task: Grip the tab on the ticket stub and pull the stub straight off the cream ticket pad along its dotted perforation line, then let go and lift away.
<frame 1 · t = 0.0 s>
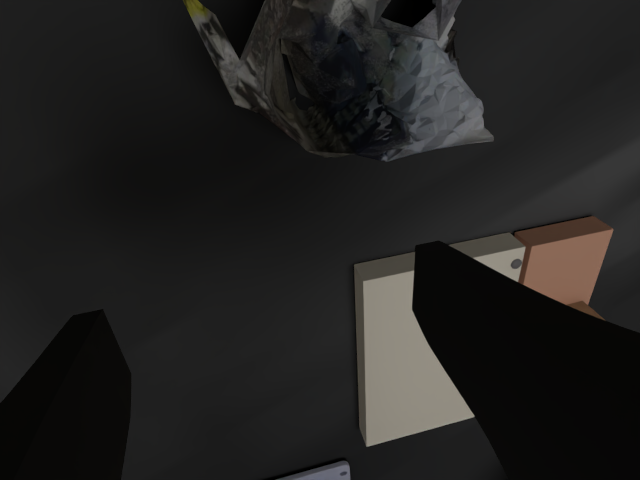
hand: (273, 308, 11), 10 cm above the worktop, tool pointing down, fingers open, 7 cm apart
stub: (563, 349, 27), point 3 cm above the worktop, slide at 0.0 cm
ticket pad: (426, 340, 28), on the worktop
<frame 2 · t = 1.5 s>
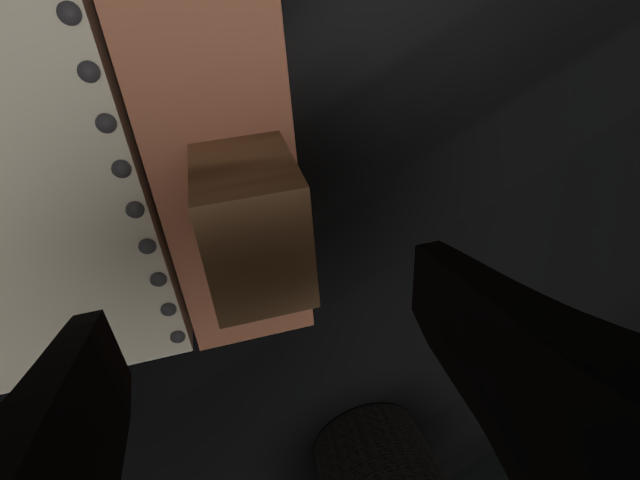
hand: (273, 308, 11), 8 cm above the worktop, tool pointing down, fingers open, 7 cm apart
stub: (233, 214, 15), point 3 cm above the worktop, slide at 0.0 cm
ticket pad: (18, 210, 16), on the worktop
coffee cup: (363, 435, 29), on the worktop
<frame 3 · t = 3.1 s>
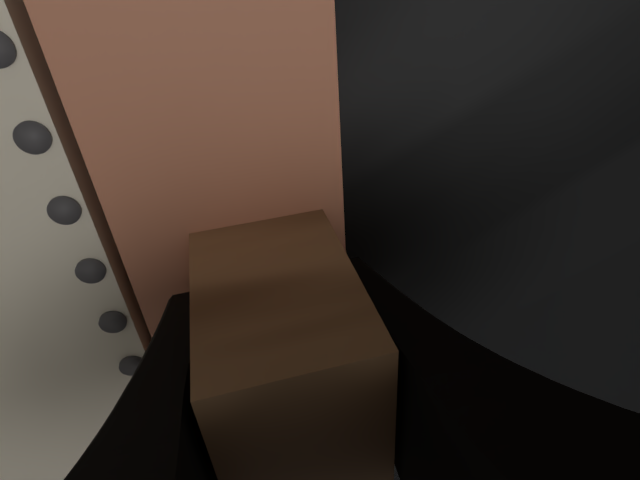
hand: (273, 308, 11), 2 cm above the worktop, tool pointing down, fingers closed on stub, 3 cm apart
stub: (256, 337, 10), point 3 cm above the worktop, slide at 0.0 cm, touching gripper
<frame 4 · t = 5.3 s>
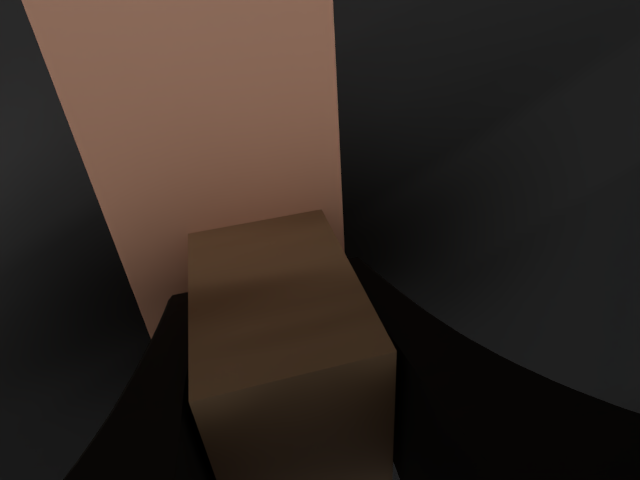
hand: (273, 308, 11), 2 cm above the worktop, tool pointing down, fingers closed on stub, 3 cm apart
stub: (255, 337, 10), point 3 cm above the worktop, slide at 7.5 cm, touching gripper
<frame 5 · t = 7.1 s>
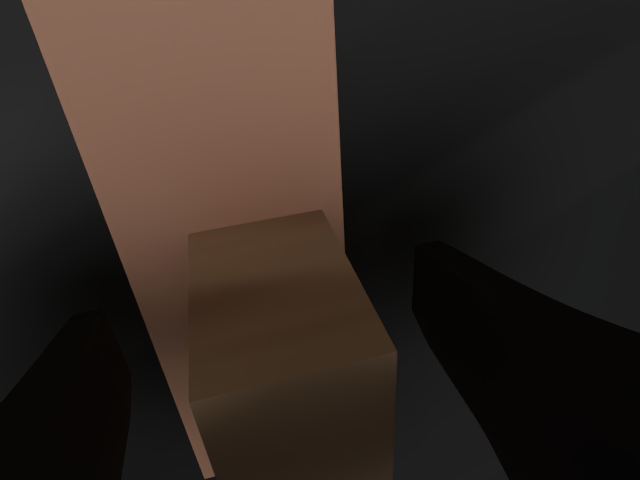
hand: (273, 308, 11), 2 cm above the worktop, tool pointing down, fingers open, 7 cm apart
stub: (255, 337, 10), point 3 cm above the worktop, slide at 7.5 cm
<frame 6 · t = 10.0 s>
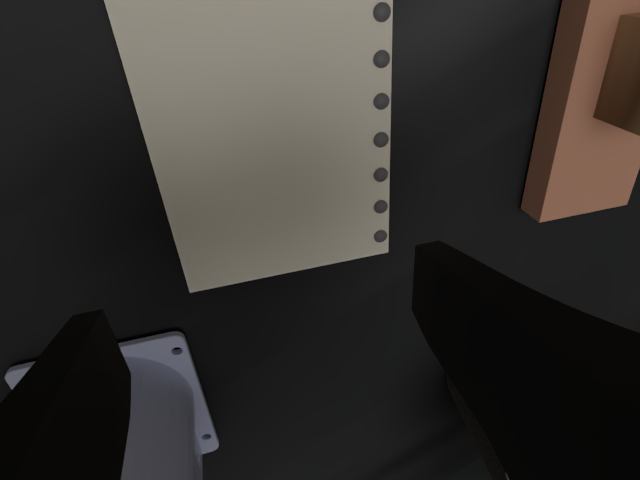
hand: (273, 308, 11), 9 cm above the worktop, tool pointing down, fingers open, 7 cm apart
ticket pad: (266, 105, 17), on the worktop
coffee cup: (489, 362, 30), on the worktop
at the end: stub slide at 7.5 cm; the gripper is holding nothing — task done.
